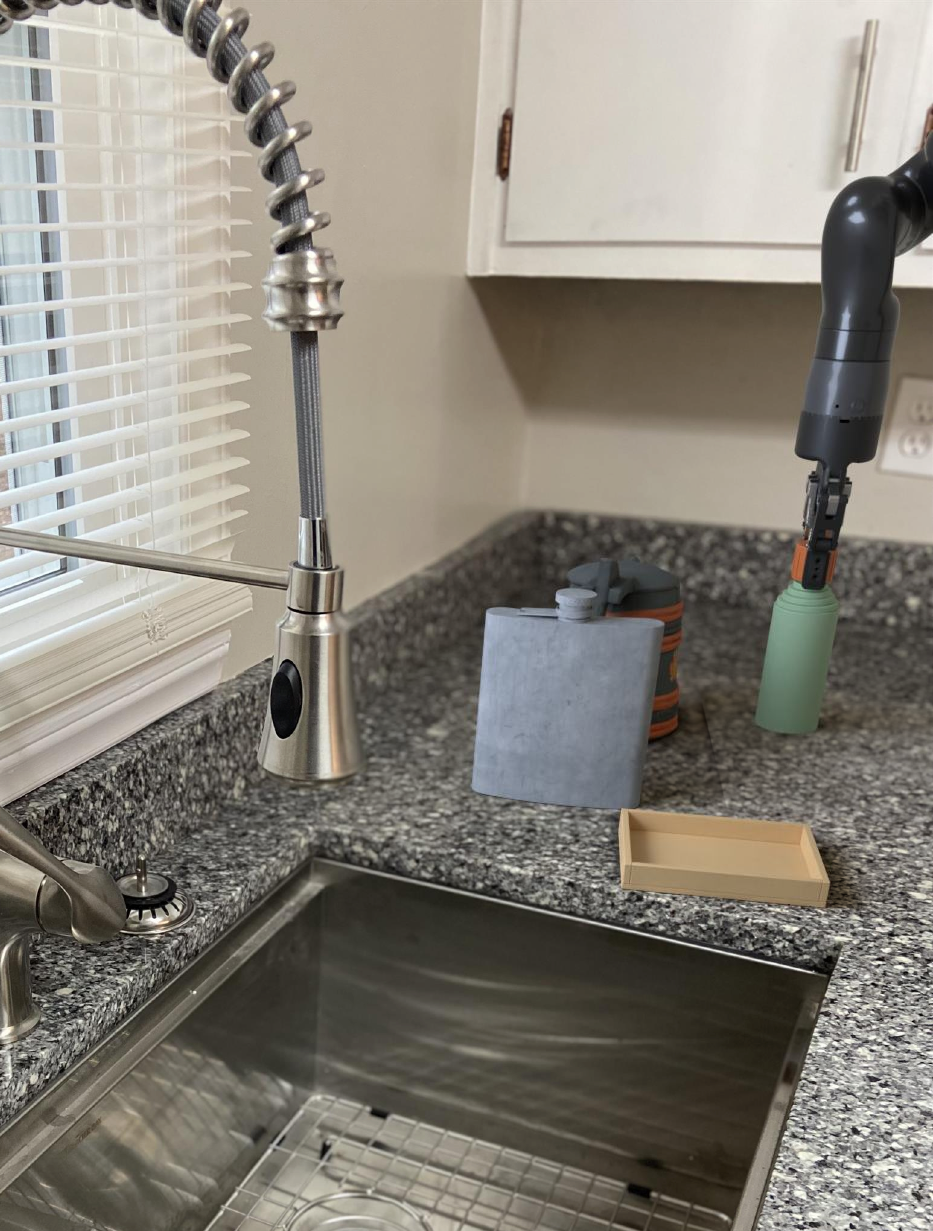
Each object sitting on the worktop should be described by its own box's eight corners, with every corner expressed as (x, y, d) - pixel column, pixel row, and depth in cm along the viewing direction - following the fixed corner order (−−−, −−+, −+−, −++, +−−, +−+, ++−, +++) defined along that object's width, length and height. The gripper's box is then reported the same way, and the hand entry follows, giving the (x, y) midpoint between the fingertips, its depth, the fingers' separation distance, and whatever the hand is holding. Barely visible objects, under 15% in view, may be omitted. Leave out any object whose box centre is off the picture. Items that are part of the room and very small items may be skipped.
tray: (804, 847, 126) (809, 823, 125) (825, 908, 115) (830, 882, 114) (618, 831, 128) (621, 808, 127) (621, 888, 118) (624, 863, 117)
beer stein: (662, 768, 143) (691, 570, 134) (518, 748, 147) (537, 556, 138) (683, 711, 159) (711, 531, 149) (553, 695, 163) (572, 519, 154)
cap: (789, 572, 147) (795, 538, 145) (830, 575, 146) (837, 541, 144) (791, 582, 143) (797, 547, 141) (833, 585, 142) (840, 550, 141)
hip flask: (639, 798, 135) (668, 591, 126) (638, 814, 132) (668, 603, 123) (473, 781, 139) (490, 579, 130) (468, 796, 136) (485, 589, 127)
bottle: (811, 724, 154) (845, 544, 145) (819, 745, 149) (855, 559, 140) (750, 720, 156) (779, 541, 146) (756, 741, 150) (787, 556, 141)
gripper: (797, 396, 144) (769, 565, 152) (806, 416, 131) (775, 598, 139) (876, 399, 142) (843, 570, 150) (893, 419, 130) (856, 604, 138)
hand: (810, 582), depth 144 cm, fingers closed on cap, 4 cm apart
